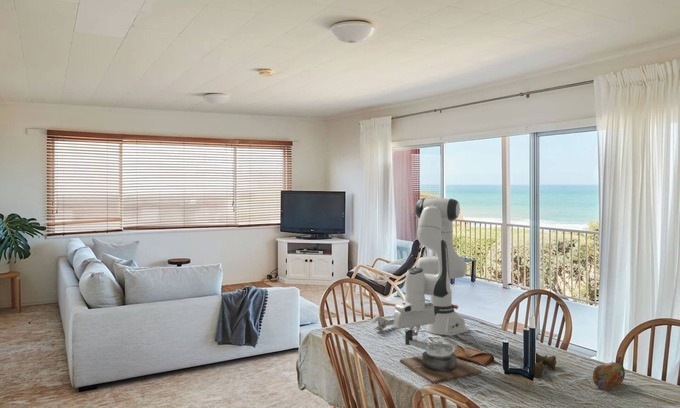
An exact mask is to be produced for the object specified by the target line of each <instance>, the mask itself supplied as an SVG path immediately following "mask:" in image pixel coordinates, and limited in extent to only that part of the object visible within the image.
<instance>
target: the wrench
mask: <svg viewBox="0 0 680 408" xmlns="http://www.w3.org/2000/svg"><path fill="white" fill-rule="evenodd" d="M372 323H377V325H375V326H374V327H373V329H374V330H377V331H380V332H383V330H384V329H385V328H386V327H388V326H392V325H393V326H394V318H390V319H386V318H384V317H382V316H380V315H376V316H374V317H373V319H372Z"/></svg>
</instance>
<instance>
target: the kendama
mask: <svg viewBox="0 0 680 408" xmlns="http://www.w3.org/2000/svg"><path fill="white" fill-rule="evenodd" d="M556 364H557V358H556V356H555V355H552V356H548V354H546V355H540V354H539V353H538V352H536V363H535V378H537V379H538V378H542V376H543V374H544V373H543V372H544V371H545V366H546V367H548V368H550V369H551V370H553V371H554V370H555V369H556Z"/></svg>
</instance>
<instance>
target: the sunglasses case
mask: <svg viewBox="0 0 680 408" xmlns="http://www.w3.org/2000/svg"><path fill="white" fill-rule="evenodd" d="M453 354H455V355H456V357H457V358H458V359H460V360H462V361H464V362H466V363H472V364H476V365H478V366H481V367H484V368H485V367H486V368H487V367H488V366H490V365H491V364H493V363H494V362H495V357H494V355H493V354H492V353H488V352H487V353H486V352H482V351H480V350H479V351H478V350H475V349H471V348H466V347H464V346H461V345H457V346H456V347H455V349H453Z"/></svg>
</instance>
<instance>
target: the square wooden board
mask: <svg viewBox="0 0 680 408" xmlns="http://www.w3.org/2000/svg"><path fill="white" fill-rule="evenodd" d="M399 362H400V363H401V364H402V365H404V366H405V367H407V368H408V369H410V370H412V372H414V373H416V374H417V375H419V376H420V377H421V378H423V379H424V380H426V381H428V382H429V383H431V384H432V383H433V384H436V383H442V382H447V381H451V380H455V379H462V378H466V377H470V376H474V375H480V374H482V370H481V369H478V368H477V367H475V366H473V365H471V364H469V363H468V362H467V361H464V360H460V359H458V358H457V357H456V355H455V354H453V357H452V358H451V359H448V360H436V359H432V358H429V357H428V356H427V355H426V351H424V352H422V355H419V356H418V355H417V356H413V357H408V358H401V359H399Z"/></svg>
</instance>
